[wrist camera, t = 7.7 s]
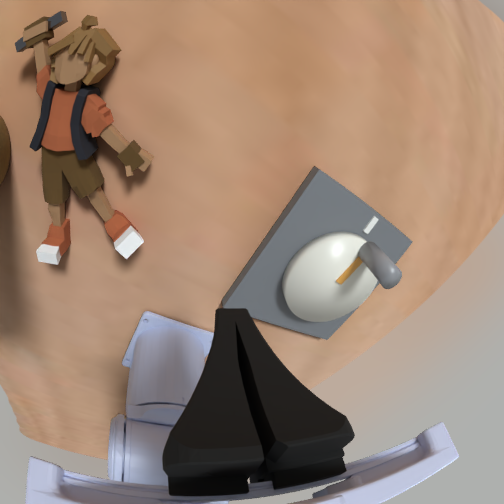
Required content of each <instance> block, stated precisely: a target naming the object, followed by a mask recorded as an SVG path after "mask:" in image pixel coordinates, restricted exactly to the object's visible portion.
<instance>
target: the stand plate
mask: <svg viewBox="0 0 504 504" xmlns="http://www.w3.org/2000/svg"><path fill="white" fill-rule="evenodd" d="M332 232H351V233H354V234H357V235H359V236H361V237H362V238H364V239H365V240H366V241H367V242H369V241H372V242H374V243H375V244H376V245H377V246H378V247H379V248H380V249H381V250H382V251H383V252H384V253H385V254H386V255H387V256H388V257H389V259H390V260H391V261H392V262H393V263H394V264H396V263H397V261H398V260H399V259H400V258H401V256H402V255H403V254H404V252H405V251H406V250H407V249H408V247H409V246H410V245H411V243H412V241H411V240H410V239H409V238H408V237H406V236H405V235H404V234H403V233H402V232H401V231H399V230H398V229H397V228H396V227H395V226H393V225H392V224H391V223H390V222H389V221H387V220H386V219H385V218H384V217H383V216H381V215H380V214H379V213H378V212H376V211H375V210H374V209H373V208H371V207H370V206H369V205H367V204H366V203H365V202H364V201H362V200H361V199H360V198H358V197H357V196H356V195H354V194H353V193H352V192H350V191H349V190H348V189H346V188H345V187H344V186H342V185H341V184H339V183H338V182H337V181H335V180H334V179H332V178H331V177H330V176H328V175H327V174H325V173H324V172H322V171H321V170H320V169H318V168H317V167H315V166H314V167H313V168H312V170H311V171H310V173H309V174H308V176H307V177H306V179H305V180H304V182H303V183H302V184H301V186H300V187H299V189H298V190H297V192H296V193H295V195H294V196H293V198H292V199H291V201H290V202H289V203H288V205H287V206H286V208H285V209H284V211H283V212H282V214H281V215H280V217H279V218H278V219H277V221H276V222H275V224H274V225H273V227H272V228H271V230H270V231H269V233H268V234H267V235H266V237H265V238H264V240H263V241H262V243H261V244H260V246H259V247H258V248H257V250H256V251H255V253H254V254H253V256H252V257H251V259H250V260H249V262H248V263H247V264H246V266H245V267H244V269H243V270H242V272H241V273H240V275H239V276H238V277H237V279H236V280H235V282H234V283H233V285H232V286H231V288H230V289H229V291H228V292H227V293H226V295H225V296H224V298H223V299H222V305H223V308H246V309H247V310H248V312H249V314H250V316H251V317H253V318H256V319H259V320H262V321H265V322H268V323H271V324H275V325H278V326H281V327H284V328H288V329H291V330H294V331H298V332H301V333H305V334H308V335H312V336H315V337H319V338H322V339H326V340H327V339H328V338H329V337H330V336H331V335H332V334H333V333H334V332H335V331H336V330H337V329H338V328H339V327H340V326H341V325H342V324H343V323H344V322H345V321H346V320H347V319H348V318H349V317H350V316H351V315H352V313H353V312H354V311H355V310H356V309H357V308H358V307H357V308H356V309H355V310H353V311H352V312H350V313H348V314H346V315H345V316H342V317H340V318H338V319H334V320H331V321H326V322H310V321H306V320H303V319H301V318H299V317H297V316H296V315H295V314H293V312H292V311H291V310H290V308H289V307H288V305H287V302H286V299H285V297H284V294H283V290H282V280H283V275H284V272H285V270H286V267H287V265H288V264H289V262H290V260H291V259H292V258H293V256H294V255H295V254H296V253H297V252H298V251H299V250H300V249H301V248H302V247H303V246H305V245H306V244H307V243H309V242H310V241H312V240H314V239H316V238H318V237H320V236H322V235H325V234H328V233H332ZM379 283H380V282H379V281H377V284H376V286H375V288H376V287H377V285H378V284H379ZM375 288H374V289H375ZM374 289H373V290H374Z"/></svg>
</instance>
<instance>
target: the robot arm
mask: <svg viewBox="0 0 504 504" xmlns="http://www.w3.org/2000/svg"><path fill="white" fill-rule="evenodd" d="M145 319H147V320H145ZM207 355H208V357H207V361H206V364H205V357H206V356H207ZM122 365H124V366H126V367H129V368H130V371H129V379H128V387H127V397H126V419H125V418H124V415H123V414H117V417H114V418H112V419H111V425H110V435H109V449H108V477H109V478H110V480H108V479H103V478H98V477H93V476H88V475H83V474H79V473H75V472H71V471H67V470H63V469H62V468H61V467H60V466H58V465H56V464H53V463H50V462H48V461H44V460H41V459H38V458H35V457H32V456H31V457H30V458H29V466H28V476H27V486H26V487H27V488H26V504H228V502H229V501H232V500H242V499H252V498H260V497H267V496H274V495H280V494H285V493H290V492H295V491H300V490H304V489H309V488H313V487H317V486H321V485H325V484H329V483H332V482H335V481H339V480H342V479H345V478H346V479H345V480H344V481H341V482H339V483H336V484H333V485H330V486H327V487H326V488H325V489H323V490H321V491H318V492H316V493H313V498H312V499H308V500H304V501H300V502H294V503H290V504H380V503H382V502H384V501H386V500H388V499H390V498H392V497H394V496H396V495H398V494H400V493H402V492H404V491H406V490H408V489H409V488H411V487H413V486H415V485H416V484H418V483H420V482H421V481H423V480H425V479H426V478H428V477H430V476H431V475H433V474H434V473H436V472H438V471H439V470H441V469H442V468H444V467H445V466H447V465H448V464H450V463H451V462H453V461H454V460H456V459H457V458H458V457H459V455H458V453H457V451H456V448H455V446H454V444H453V442H452V440H451V438H450V436H449V434H448V431H447V429H446V427H445V426H444V423H443V422H440V423H438V424H436V425H434V426H432V427H430V428H428V429H426V430H425V431H423V432H422V433H420V434H419V435H418V436H417V437H416V438H413V439H411V440H409V441H407V442H404V443H402V444H400V445H397V446H395V447H392V448H390V449H387V450H385V451H382V452H380V453H377V454H375V455H372V456H369V457H366V458H363V459H360V460H357V461H354V462H351V463H348V464H344V461H343V458H342V457H343V456H344V451H343V447H345V446H346V445H347V444H348V443H349V442H350V441H352V440H353V438H354V432H353V429H352V427H351V425H350V423H349V421H348V419H347V417H346V416H345V415H343V414H341V413H340V412H338V411H337V410H335V409H333V408H332V407H330V406H329V405H327V404H326V403H325V402H324V401H322V400H321V399H319V398H318V397H317V396H316V395H314V394H313V393H312V392H311V391H310V390H309V389H307V388H306V387H305V386H304V385H303V384H302V383H301V382H300V381H299V380H298V379H297V378H296V377H295V376H294V375H293V374H292V373H291V372H290V371H289V370H288V369H287V368H286V367H285V366H284V365H283V363H282V362H281V361H280V360H279V358H278V357H277V356H276V355H275V353H274V352H273V351H272V349H271V348H270V347H269V345H268V344H267V342H266V341H265V339H264V338H263V336H262V335H261V333H260V332H259V330H258V328H257V327H256V325H255V323H254V321H253V319H252V318H251V316H250V314H249V312H248V310H247V309H246V308H218V309H217V310H216V313H215V331H214V333H212V332H209V331H206V330H203V329H200V328H196V327H193V326H190V325H187V324H184V323H181V322H178V321H175V320H172V319H169V318H166V317H163V316H161V315H158V314H155V313H152V312H149V311H145V312H144V313H143V314H142V317H141V319H140V321H139V323H138V326H137V328H136V330H135V332H134V335H133V337H132V339H131V341H130V344H129V346H128V348H127V351H126V353H125V356H124V358H123V360H122ZM249 477H250V484H248V482H247V480H248V478H249Z"/></svg>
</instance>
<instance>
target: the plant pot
mask: <svg viewBox="0 0 504 504" xmlns="http://www.w3.org/2000/svg"><path fill="white" fill-rule="evenodd" d="M9 161H10V139H9V133H8V130H7V127H6V124H5V122H4V120H3V118H2V117H1V116H0V185H1V183H2V181H3V180H4V178H5V176H6V173H7V170H8V167H9Z"/></svg>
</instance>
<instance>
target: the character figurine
mask: <svg viewBox="0 0 504 504" xmlns="http://www.w3.org/2000/svg"><path fill="white" fill-rule="evenodd" d="M66 22H68V20H67V16H66V12H63V11H60V12H58V13H57V14H55V15H53V16H52V17H42V18H40V19H39V20H37V21H35V22H34V23H32V24H31V25H29V26H27V27H26V28H24V32H23V37H22V38H21V39H19V40H18V41H17V42H16V43H15V46H16V50H17V52H23V51H24V50H25V49H27V48H34V52H35V61H36V68H37V76H36V81H37V93H38V94H39V96H40V97H41V98H42V108H41V116H40V119H39V122H38V125H37V129H36V132H35V134H34V137H33V139H32V142H31V144H30V146H29V147H30V148H32V149H33V150H34V151H37V150H38V149H40V148H41V147H42V179H43V192H44V198H45V201H46V202H47V203H49V205H48V210H49V213H50V215H51V218H52V224H51V225H50V227H49V231H48V235H47V238H46V239H45V240H44V241H43V242H42V245H41V246H40V247H39V248H38V249H37V251H36V253H37V257H38V261H39V262H45V263H51V264H56V265H58V264H59V261H60V258H61V256H62V255H63V254H64V253H65V252H66V251H67V249H68V247H69V245H70V243H71V240H70V219H65V201H66V200H67V198H68V197H69V184H70V186H71V188H72V189H73V190H74V192H75V193H76V194H77V195H78V197H79V198H80V199H81V198H84V197H86V196H87V197H88V199H89V201H90V202H91V204H92V205H93V206H94V208H95V209H96V210H97V212H98V213H99V214H100V216H101V217H102V219H103V220H104V225H105V228H106V231H107V233H108V234H109V235H110V237H111V238H112V239H113V242H114V246H115V249H116V250H117V251H118V252H119V253H120V254H121V255H122V256H123V257H125V258H126V259H127V258H128V257H129V256H130V255H131V254H132V253H133V252H134V251H135V250H136V249H137V248H138V247H139V246H140V245H141V244H142V243H143V242H144V240H143V238H142V236H141V235H140V234H139V232H138V230H137V229H136V228H135V227H134V226H133V225H132V224H131V222H130V221H129V220H128V219H127V218H126V217H125V216H124V214H123V213H121V212H119V211H117V210H115V211H114V210H113V209H112V207H111V205H110V203H109V201H108V199H107V198H106V196H105V194H104V192H103V191H102V189H101V185H102V184H103V182H104V178H103V176H102V173H101V171H100V168H99V167H98V165H97V163H96V162H95V160H94V158H93V156H92V154H93V153H94V152H95V151H96V150H97V148H98V145H97V142H96V139H95V137H97V136H99V135H100V136H101V137H102V138H103V139H104V140H105V141H106V142H107V143H108V144H109V145H110V146H111V147H112V148H113V149H114V150H116V151H117V152H118V153H119V154H118V156H117V157H118V158H119V160H120V161H121V162H122V163H123V164H124V165H125V169H126V174H127V177H128V176H132V175H133V171H134V170H135V169H136V168H139V169H140V170H142V171H143V172H144V171H145V170H146V169H147V167H148V166H149V164H150V163H151V162H152V160H153V158H154V156H153V155H151V154H150V153H148V152H147V151H145V150H144V149H141V147H140V146H139V145H138V144H137V143H136V142H135V141H134V140H133V141H132V142H131V143H129V142H128V141H127V140H126V139H125V138H124V137H123V136H122V135H121V134H120V133H119V132H118V131H117V130H116V128H115V127H114V126H113V125H112V124H111V123H112V122H114V121H113V117H112V114H111V110H110V109H108V108H107V107H106V103H105V102H104V101H103V100H102V99H101V98H100V90H99V88H96V87H92V86H88V85H90V84H94V83H98V82H99V81H100V80H101V79H102V78H103V77H104V76H105V75H106V74H107V73H108V72H109V71H110V70H111V68H112V67H113V66H114V64H115V56H116V55H117V54H118V53H119V52H120V51H121V49H120V48H119V46H118V45H117V44H116V42H115V41H114V40H113V38H112V37H111V36H110V34H109V33H108V32H107V31H106V29H99V28H94V29H92V28H91V26H96V25H98V21H97V17H94V16H89V15H87V16H86V17H85V18H84V19H83V21H82V27H79V28H77V29H76V30H74V31H73V32H72V33H70V34H69V35H68V36H66V37H65V38H64V39H62V40H61V41H60V42H58V43H56V44H54V45H52V46H50V47H48V40H50V39H52V38H53V37H54V32H53V30H54V29H56V28H58V27H59V26H61V25H63V24H64V23H66ZM54 54H55V55H54ZM52 55H54V57H53V58H52V60H50V56H52ZM82 82H84V83H85V84H86V85H83V84H81V83H82Z"/></svg>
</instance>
